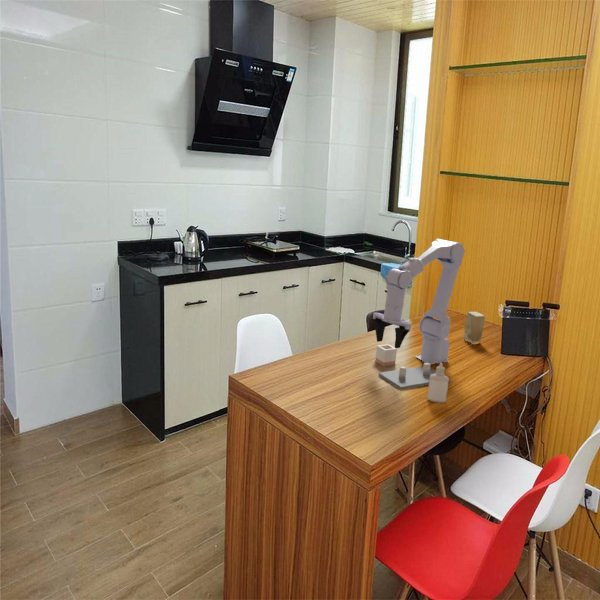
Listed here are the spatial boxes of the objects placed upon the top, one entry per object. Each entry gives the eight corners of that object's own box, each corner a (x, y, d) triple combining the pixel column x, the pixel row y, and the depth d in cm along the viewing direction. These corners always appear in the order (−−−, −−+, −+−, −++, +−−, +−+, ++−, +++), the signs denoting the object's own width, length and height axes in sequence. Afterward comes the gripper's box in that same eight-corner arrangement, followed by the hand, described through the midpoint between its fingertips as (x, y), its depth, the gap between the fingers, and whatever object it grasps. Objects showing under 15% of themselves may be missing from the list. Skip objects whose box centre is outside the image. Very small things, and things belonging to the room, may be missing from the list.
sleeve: (386, 359, 196) (388, 344, 194) (395, 364, 191) (396, 348, 190) (375, 361, 193) (376, 345, 192) (383, 366, 189) (385, 350, 187)
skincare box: (462, 339, 223) (466, 311, 220) (471, 339, 225) (476, 311, 222) (472, 345, 217) (476, 316, 214) (481, 344, 219) (485, 315, 216)
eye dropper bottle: (440, 405, 161) (445, 367, 158) (424, 398, 165) (429, 362, 162) (448, 401, 164) (453, 364, 161) (432, 395, 168) (436, 359, 165)
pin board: (425, 368, 189) (427, 356, 188) (449, 381, 179) (450, 368, 178) (378, 375, 181) (380, 363, 179) (400, 389, 170) (402, 376, 169)
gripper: (369, 301, 181) (364, 339, 184) (404, 311, 170) (398, 352, 173) (382, 299, 185) (377, 337, 188) (417, 309, 175) (411, 349, 178)
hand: (388, 344), depth 181 cm, fingers open, 7 cm apart
